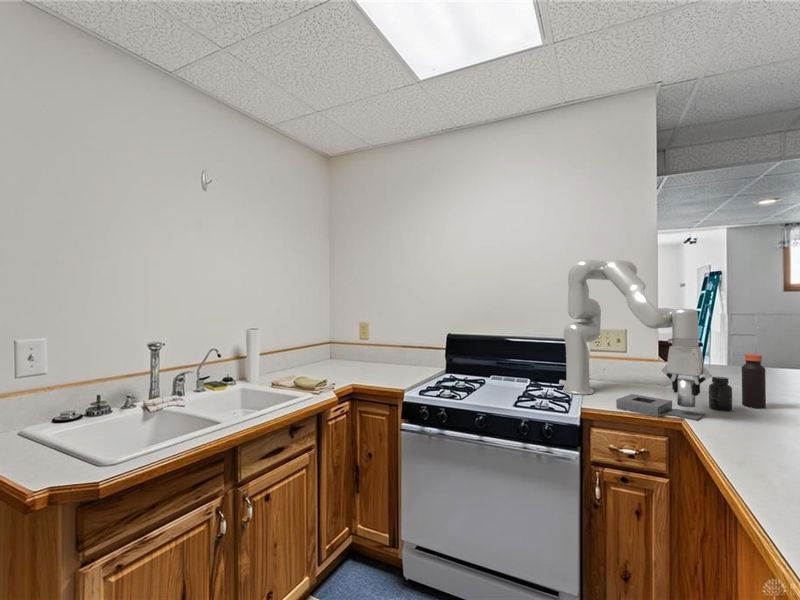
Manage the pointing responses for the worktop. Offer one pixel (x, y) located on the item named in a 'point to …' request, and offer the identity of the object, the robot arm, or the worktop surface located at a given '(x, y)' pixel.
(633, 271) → the robot arm
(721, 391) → the supplement bottle
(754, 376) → the vinegar
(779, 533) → the worktop surface
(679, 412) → the mat
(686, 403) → the shiny grey cylinder
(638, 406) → the block
